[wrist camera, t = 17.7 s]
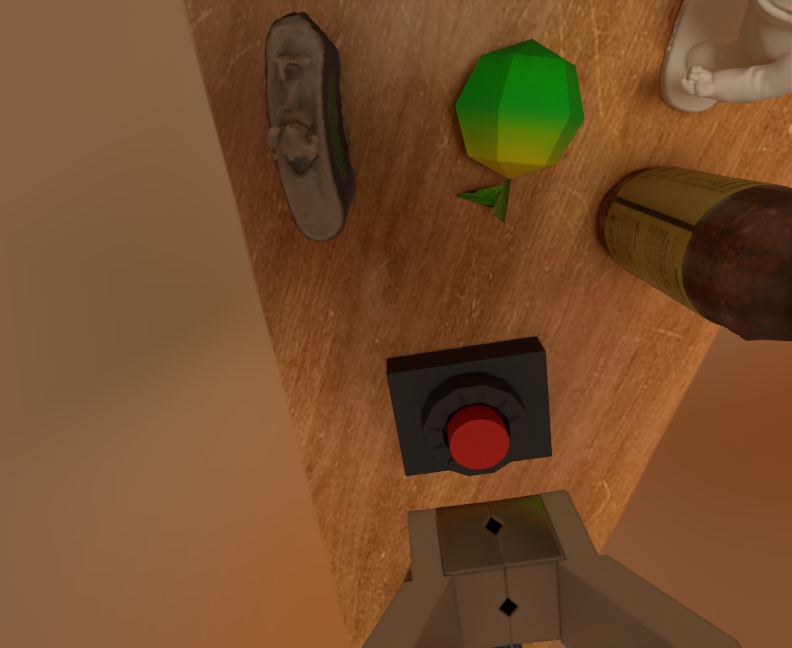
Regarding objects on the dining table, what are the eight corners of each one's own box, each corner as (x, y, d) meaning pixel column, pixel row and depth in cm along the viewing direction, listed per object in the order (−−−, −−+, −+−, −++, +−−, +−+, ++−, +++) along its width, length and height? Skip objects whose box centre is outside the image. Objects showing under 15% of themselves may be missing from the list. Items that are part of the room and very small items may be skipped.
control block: (405, 457, 40) (406, 494, 36) (386, 358, 37) (386, 388, 33) (543, 437, 39) (559, 473, 35) (537, 336, 36) (553, 364, 32)
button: (450, 456, 35) (453, 473, 34) (443, 408, 34) (446, 424, 32) (506, 448, 35) (512, 465, 34) (501, 400, 34) (507, 415, 32)
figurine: (683, -101, 27) (885, -235, 16) (804, -68, 28) (1081, -175, 17) (617, 96, 31) (746, 96, 19) (726, 121, 31) (913, 136, 20)
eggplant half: (359, 205, 33) (346, 252, 23) (310, 209, 33) (275, 258, 23) (339, 30, 29) (312, -4, 19) (284, 36, 29) (229, 5, 19)
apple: (551, 25, 23) (518, 241, 26) (625, 45, 27) (588, 229, 30) (429, 32, 27) (414, 213, 31) (507, 47, 31) (486, 206, 35)
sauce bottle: (652, 283, 35) (947, 492, 16) (572, 237, 34) (791, 407, 15) (722, 190, 33) (1152, 312, 14) (638, 137, 31) (989, 196, 13)
